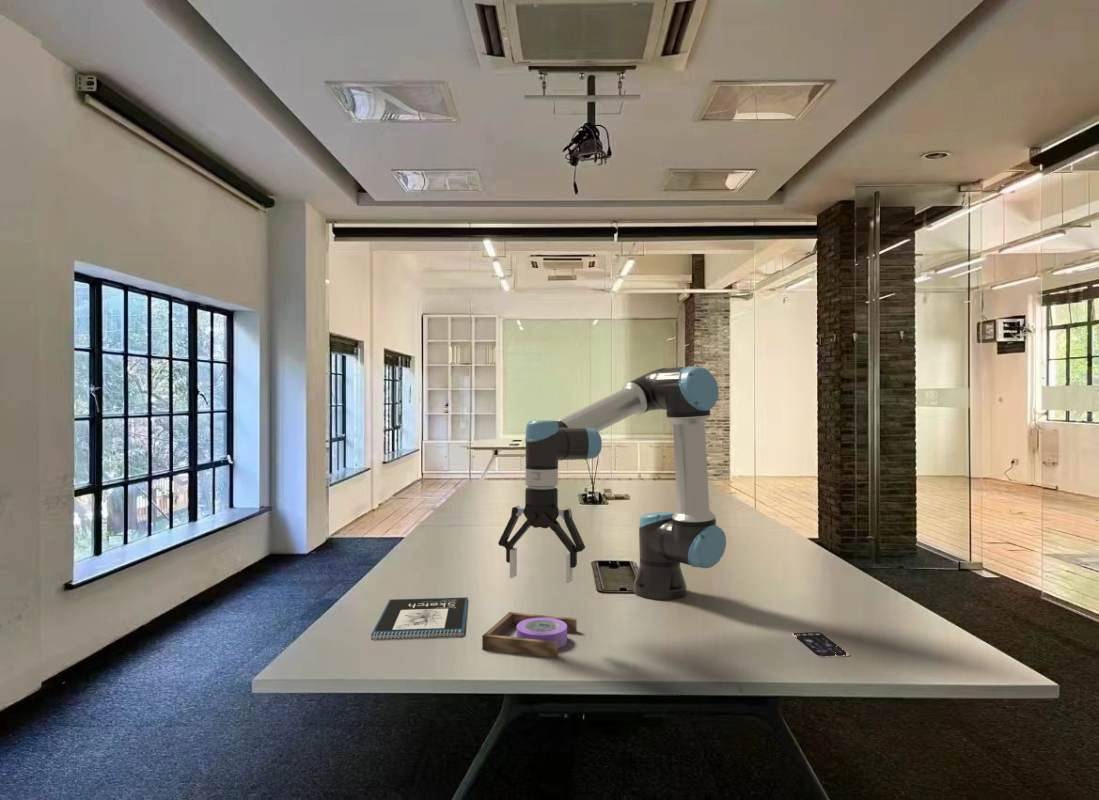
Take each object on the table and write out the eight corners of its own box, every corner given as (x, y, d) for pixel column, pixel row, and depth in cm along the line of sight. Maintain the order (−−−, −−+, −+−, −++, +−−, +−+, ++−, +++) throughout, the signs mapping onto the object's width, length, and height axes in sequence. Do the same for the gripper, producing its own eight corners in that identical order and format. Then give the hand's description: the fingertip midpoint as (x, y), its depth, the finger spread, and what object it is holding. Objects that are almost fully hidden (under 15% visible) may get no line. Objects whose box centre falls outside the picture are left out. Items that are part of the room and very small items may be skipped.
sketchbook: (467, 602, 185) (467, 594, 185) (463, 640, 155) (463, 631, 155) (389, 603, 183) (389, 596, 183) (370, 642, 153) (370, 633, 153)
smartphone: (819, 631, 158) (852, 655, 143) (820, 634, 158) (852, 658, 143) (789, 632, 158) (818, 656, 143) (789, 635, 158) (818, 659, 143)
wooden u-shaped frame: (576, 631, 159) (576, 618, 159) (556, 657, 143) (556, 643, 143) (509, 624, 164) (509, 612, 164) (482, 649, 148) (482, 635, 148)
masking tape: (563, 653, 146) (563, 635, 146) (511, 649, 148) (511, 632, 148) (570, 634, 157) (570, 618, 157) (522, 632, 159) (522, 616, 159)
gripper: (485, 486, 153) (484, 578, 153) (590, 491, 146) (589, 587, 145) (497, 483, 160) (496, 571, 160) (597, 487, 153) (597, 579, 153)
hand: (540, 579), depth 153 cm, fingers open, 13 cm apart
